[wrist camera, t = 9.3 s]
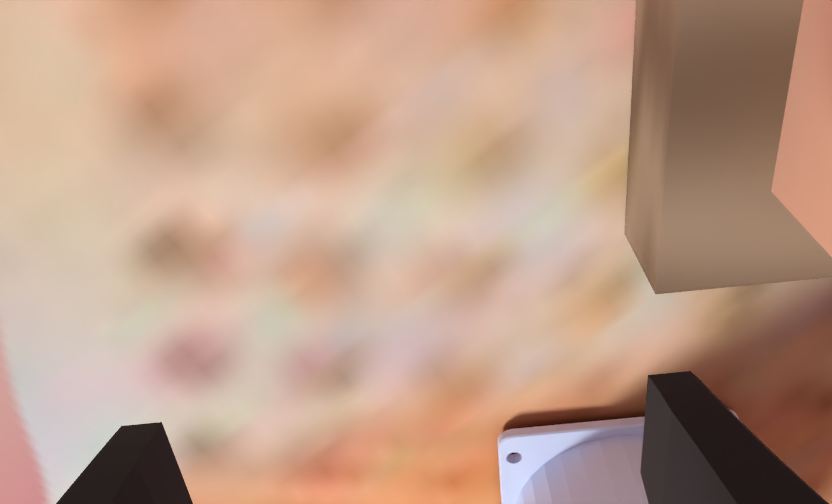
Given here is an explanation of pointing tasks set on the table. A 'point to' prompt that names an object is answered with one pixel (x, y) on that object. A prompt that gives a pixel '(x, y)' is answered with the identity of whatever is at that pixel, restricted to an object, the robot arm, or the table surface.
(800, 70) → the terracotta cube
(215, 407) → the table surface
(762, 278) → the taupe block
